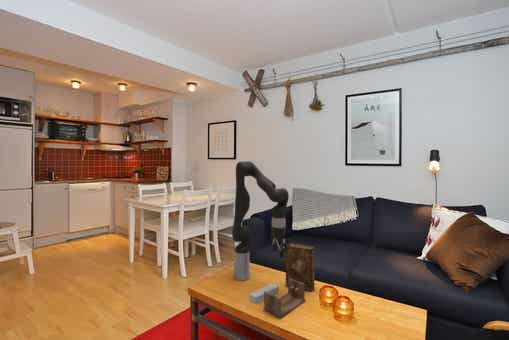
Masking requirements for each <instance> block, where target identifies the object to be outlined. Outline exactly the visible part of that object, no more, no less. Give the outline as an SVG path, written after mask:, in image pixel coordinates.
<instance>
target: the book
mask: <svg viewBox="0 0 509 340" xmlns="http://www.w3.org/2000/svg"><path fill="white" fill-rule="evenodd" d="M315 256H316V255H315V246H313V245H307V244H300V243H294V242H293V243H291V242H290V243H288V245H287V244H286V251H285V286H286V288H288V278H291V279H293V280H296V281H299V282H302V283H304V284H305V292H307V293H308V292H309V293H314V291H315Z"/></svg>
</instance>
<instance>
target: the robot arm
mask: <svg viewBox="0 0 509 340" xmlns="http://www.w3.org/2000/svg"><path fill="white" fill-rule="evenodd" d="M245 177H253V178H254V179H255V180H256V184H257V186H258V187H259V188H260V189H261V190H262V191H263V192H264V193H266V194H265V195H266V196H267V197H268V198H269V200H270V201H271V202H272V203H273V202H274V203H276V205H274V206H273V207H272V210H271V211H272V213H271V214H272V215H271V233H270V243H271V245H272V252H273V253H275V252H276V253H277V252H278V249H279V258H281V259H282V258H284V257H285V252H286V246H287V239H286V238H284V235H286V224H287V222H286V221H287V220H286V209H287V206H288V201H289V199H290V197H289V192H288V189H286V188H282V187H281V188H276V187H277V186H276V184H275V183H274V182H273V181H272V180H271V179H269V178H268V177H266V176H265V175H264V173H262V172H261V169H259V168H258V167H257V166H256V165H255V164H254V162H252V161H249V160H248V161H239V162H237V163H236V166H235V199H234V214H233V223H232V232H231V237H232V240H233V242H235V243H238V244H237V245H236V246H235V247H234V258H235V259H234V260H235V261H234V262H233V263H234V265H233V270H234V271H233V275H234V276H233V277H234V278H235V280H237V281H240V282H241V281H242V282H243V281H247V280H249V279H250V273H251V272H250V271H251V270H250V248H251V237H252V236H251V234H252V233H251V229H250V227H249V226H248V225H242V222H243V221H244V218H245V217H246V215H247V213H248V212H249V210H250V205H251V196H250V193H249V191H248V189H247V187H246V184H245ZM239 242H240V243H239Z"/></svg>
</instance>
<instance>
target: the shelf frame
mask: <svg viewBox="0 0 509 340" xmlns="http://www.w3.org/2000/svg"><path fill="white" fill-rule="evenodd" d="M305 292H306V291H305V284H304V283H302V282H299V281H296V280H293V279H291V278H288V287H287V292H286V293H285V294H284V295H282V296H281V297H280V296H277V295H276V294H275V295H273V294H270V293H268V292H266V291H265V292H264V300H263V312H266V313H267V314H269V315H272V316H273V317H276V318H277V319H280V320H282V319H283V318H285V317H286V316H287V315H288V314H290V313H292V312H293V311H295V310H296V309H297V308H298V307H300V306H301V305H303V304H304V303H305V302H306V299H305V297H306V296H305Z"/></svg>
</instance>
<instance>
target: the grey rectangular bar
mask: <svg viewBox="0 0 509 340" xmlns="http://www.w3.org/2000/svg"><path fill="white" fill-rule="evenodd" d="M265 291H266V292H268V293H270V294H273V295H275V296H276V295H277V294H279V293H280V287H279V285H277V284H275V283H273V282H272V283H270V284H268V285H266V286H264V287H261V288H259V289H257V290H255V291H253V292H251V293H249V302H251V303H253V304H255V305H257V304H260V303H261V302H264V292H265Z"/></svg>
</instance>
